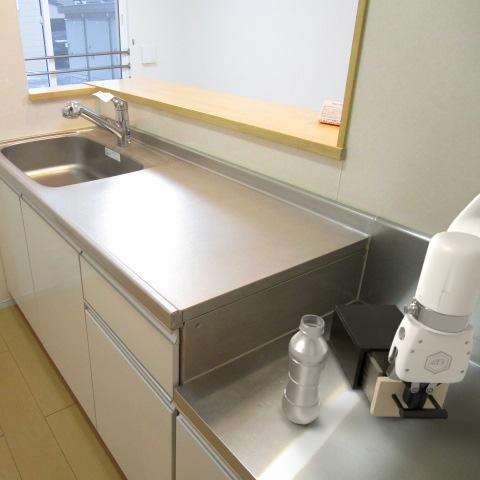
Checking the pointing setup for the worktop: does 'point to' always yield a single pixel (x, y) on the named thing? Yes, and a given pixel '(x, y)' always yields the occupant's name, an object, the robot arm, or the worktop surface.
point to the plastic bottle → (305, 371)
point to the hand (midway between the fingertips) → (411, 405)
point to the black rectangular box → (362, 334)
